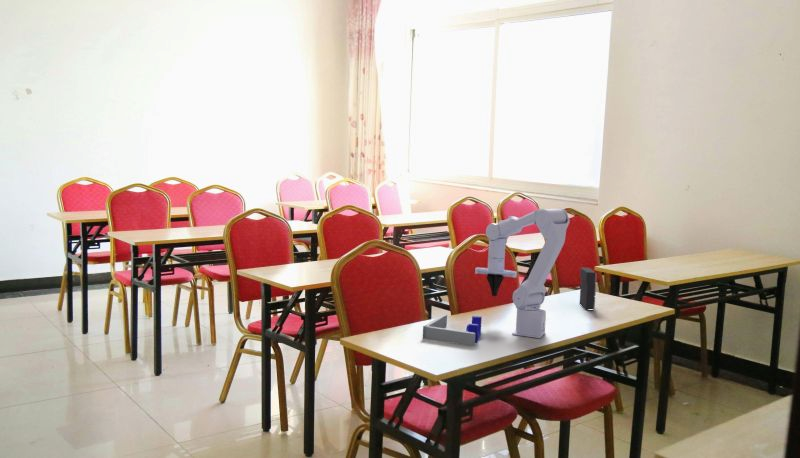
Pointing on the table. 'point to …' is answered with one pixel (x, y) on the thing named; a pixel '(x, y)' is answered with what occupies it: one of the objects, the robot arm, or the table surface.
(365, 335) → the table surface
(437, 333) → the corner bracket
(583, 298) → the dark grey rectangular block
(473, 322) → the cable clip
